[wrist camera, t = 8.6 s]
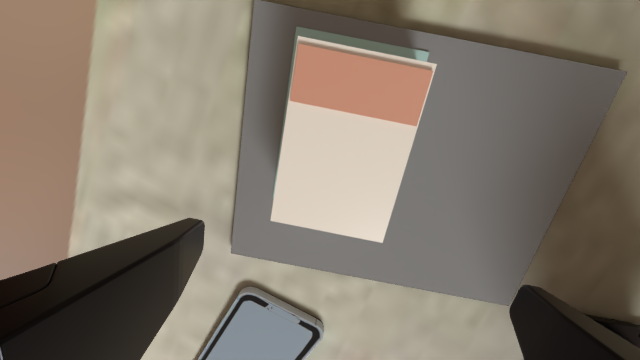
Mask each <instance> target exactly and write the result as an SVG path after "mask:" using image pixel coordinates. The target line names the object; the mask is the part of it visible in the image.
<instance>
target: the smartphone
mask: <svg viewBox="0 0 640 360" xmlns="http://www.w3.org/2000/svg"><path fill="white" fill-rule="evenodd" d="M323 332H324V326H323V324H322V323H321V321H319V320H318V319H316V318H314V317H312V316H310V315H309V314H307V313H305V312H303V311H301V310H299V309H297V308H295V307H293V306H291V305H289V304H287V303H285V302H283V301H281V300H280V299H278V298H276V297H274V296H272V295H270V294H268V293H266V292H264V291H262V290H260V289H258V288H256V287H246V288H243V289H242V290H241V291H240V292H239V294H238V296H237V297H236V299H235V300H234V302H233V304H232V305H231V307H230V308H229V310H228V311H227V313H226V315H225V316H224V317H223V319H222V320H221V322H220V323H219V326H218V327H217V328H216V330H215V331H214V333H213V335H212V337H211V339H210V340H209V342H208V343H207V345H206V347H205V348H204V350H203V351H202V353H201V355H200V356H199V358H198V359H197V360H305V359H306V357H307V356H308V355H309V354H310V353H311V351H312V350H313V349H314V348H315V347H316V346H317V344H318V343H319V342H320V341H321V340H322V338H323Z"/></svg>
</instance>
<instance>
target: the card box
mask: <svg viewBox="0 0 640 360" xmlns="http://www.w3.org/2000/svg"><path fill="white" fill-rule="evenodd" d="M436 66H437V64H434V63H429V62H424V61H419V60H414V59H409V58H404V57H400V56H395V55H390V54H385V53H380V52H375V51H370V50H365V49H360V48H355V47H350V46H345V45H341V44H336V43H331V42H326V41H321V40H316V39H311V38H306V37H301V36H298V39H297V45H296V52H295V59H294V65H293V72H292V79H291V86H290V92H289V99H288V106H287V112H286V119H285V126H284V133H283V139H282V146H281V153H280V159H279V166H278V173H277V180H276V186H275V193H274V200H273V206H272V213H271V220H270V221H274V222H279V223H284V224H289V225H294V226H299V227H304V228H310V229H315V230H320V231H325V232H330V233H335V234H340V235H345V236H350V237H355V238H360V239H365V240H370V241H375V242H380V243H383V240H384V237H385V233H386V230H387V227H388V223H389V220H390V217H391V214H392V210H393V207H394V204H395V200H396V197H397V194H398V191H399V187H400V184H401V181H402V177H403V174H404V171H405V167H406V164H407V161H408V158H409V154H410V151H411V148H412V144H413V141H414V138H415V135H416V131H417V128H418V125H419V121H420V118H421V115H422V112H423V108H424V105H425V102H426V98H427V95H428V92H429V89H430V85H431V82H432V79H433V75H434V72H435V69H436Z"/></svg>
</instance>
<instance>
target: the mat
mask: <svg viewBox="0 0 640 360" xmlns="http://www.w3.org/2000/svg"><path fill="white" fill-rule="evenodd" d="M298 36H301V37H306V38H311V39H316V40H321V41H326V42H331V43H336V44H341V45H345V46H350V47H355V48H360V49H365V50H370V51H375V52H380V53H385V54H390V55H395V56H400V57H404V58H409V59H414V60H419V61H424V62H429V63H434V64H437V66H436V69H435V72H434V75H433V79H432V82H431V85H430V89H429V92H428V95H427V98H426V102H425V105H424V108H423V112H422V115H421V118H420V121H419V125H418V128H417V131H416V135H415V138H414V141H413V144H412V148H411V151H410V154H409V158H408V161H407V164H406V167H405V171H404V174H403V177H402V181H401V184H400V187H399V191H398V194H397V197H396V200H395V204H394V207H393V210H392V214H391V217H390V220H389V223H388V227H387V230H386V233H385V237H384V240H383V243H380V242H375V241H370V240H365V239H360V238H355V237H350V236H345V235H340V234H335V233H330V232H325V231H320V230H315V229H310V228H304V227H299V226H294V225H289V224H284V223H279V222H274V221H270V220H271V213H272V206H273V200H274V193H275V186H276V180H277V173H278V166H279V159H280V153H281V146H282V139H283V133H284V126H285V119H286V112H287V106H288V99H289V92H290V86H291V79H292V72H293V65H294V59H295V52H296V45H297V39H298ZM626 74H627V72H626V71H621V70H616V69H611V68H606V67H600V66H595V65H590V64H585V63H580V62H575V61H570V60H564V59H559V58H554V57H549V56H544V55H539V54H534V53H529V52H523V51H518V50H513V49H508V48H503V47H498V46H493V45H487V44H482V43H477V42H472V41H467V40H462V39H457V38H452V37H446V36H441V35H436V34H431V33H426V32H421V31H416V30H410V29H405V28H400V27H395V26H390V25H385V24H380V23H375V22H369V21H364V20H359V19H354V18H349V17H344V16H339V15H334V14H328V13H323V12H318V11H313V10H308V9H303V8H298V7H292V6H287V5H282V4H277V3H272V2H267V1H262V0H254V7H253V18H252V29H251V40H250V50H249V61H248V72H247V83H246V94H245V105H244V116H243V126H242V137H241V148H240V159H239V170H238V181H237V192H236V203H235V213H234V224H233V235H232V246H231V253H232V254H237V255H243V256H248V257H253V258H258V259H264V260H269V261H274V262H279V263H285V264H290V265H295V266H301V267H306V268H311V269H316V270H322V271H327V272H332V273H337V274H343V275H348V276H353V277H359V278H364V279H369V280H374V281H380V282H385V283H390V284H395V285H401V286H406V287H411V288H416V289H422V290H427V291H432V292H438V293H443V294H448V295H453V296H459V297H464V298H469V299H474V300H480V301H485V302H490V303H496V304H501V305H506V306H509V304H510V302H511V301H512V299H513V297H514V295H515V293H516V291H517V289H518V287H519V285H520V283H521V281H522V279H523V277H524V275H525V273H526V271H527V269H528V267H529V265H530V263H531V261H532V259H533V257H534V255H535V253H536V251H537V249H538V247H539V245H540V243H541V241H542V239H543V237H544V235H545V233H546V231H547V229H548V227H549V226H550V224H551V222H552V220H553V218H554V216H555V214H556V212H557V210H558V208H559V206H560V204H561V202H562V200H563V198H564V196H565V194H566V192H567V190H568V188H569V186H570V184H571V182H572V180H573V178H574V176H575V174H576V172H577V170H578V168H579V166H580V164H581V162H582V160H583V158H584V156H585V154H586V152H587V151H588V149H589V147H590V145H591V143H592V141H593V139H594V137H595V135H596V133H597V131H598V129H599V127H600V125H601V123H602V121H603V119H604V117H605V115H606V113H607V111H608V109H609V107H610V105H611V103H612V101H613V99H614V97H615V95H616V93H617V91H618V89H619V87H620V85H621V83H622V81H623V79H624V77H625V76H626Z"/></svg>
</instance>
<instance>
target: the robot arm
mask: <svg viewBox="0 0 640 360" xmlns="http://www.w3.org/2000/svg"><path fill="white" fill-rule="evenodd" d="M204 228H205V225H204V222H203V221H202V220H198V219H193V218H187V219H184V220H181V221H178V222H175V223H172V224H169V225H166V226H163V227H160V228H157V229H154V230H151V231H148V232H145V233H142V234H139V235H136V236H133V237H130V238H127V239H124V240H121V241H118V242H115V243H112V244H109V245H106V246H103V247H100V248H98V249H95V250H92V251H89V252H86V253H83V254H80V255H77V256H74V257H71V258H68V259H65V260H62V261H59V262H58V263H57V264H56V263H52V264H50V265H47V266H44V267H41V268H38V269H35V270H32V271H28V272H25V273H23V274H19V275H16V276H13V277H10V278H7V279H4V280H0V360H140V359H141V358H142V356H143V354H144V353H145V351H146V350H147V348H148V347H149V345H150V344H151V342H152V341H153V339H154V337H155V336H156V334H157V333H158V331H159V330H160V328H161V327H162V325H163V324H164V322H165V320H166V319H167V317H168V316H169V314H170V313H171V311H172V310H173V308H174V306H175V305H176V303H177V301H178V300H179V298H180V296H181V294H182V292H183V290H184V288H185V286H186V284H187V282H188V280H189V278H190V276H191V274H192V272H193V270H194V268H195V266H196V264H197V262H198V260H199V258H200V256H201V253H202V250H203V244H204ZM510 318H511V321H512V324H513V327H514V330H515V333H516V336H517V339H518V342H519V345H520V348H521V351H522V354H523V357H524V360H640V325H636V324H630V323H625V322H620V321H615V320H609V319H604V318H599V317H594V316H588V315H584V314H582V313H581V312H579V311H578V310H576V309H574V308H573V307H571V306H569V305H568V304H566V303H565V302H563V301H561V300H560V299H558V298H556V297H555V296H553V295H552V294H550V293H548V292H547V291H545V290H543V289H542V288H540V287H536V286H531V285H523V286H522V287H520V289H519V291H518V293H517V295H516V297H515V299H514V301H513V303H512V305H511V307H510Z"/></svg>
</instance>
